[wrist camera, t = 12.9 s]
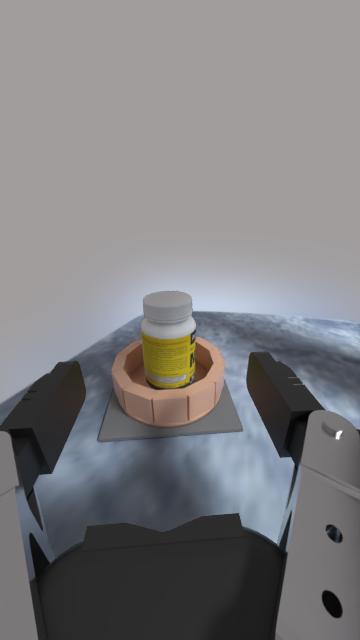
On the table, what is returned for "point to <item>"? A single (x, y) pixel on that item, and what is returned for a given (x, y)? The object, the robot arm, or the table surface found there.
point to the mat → (126, 428)
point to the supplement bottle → (168, 340)
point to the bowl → (172, 403)
